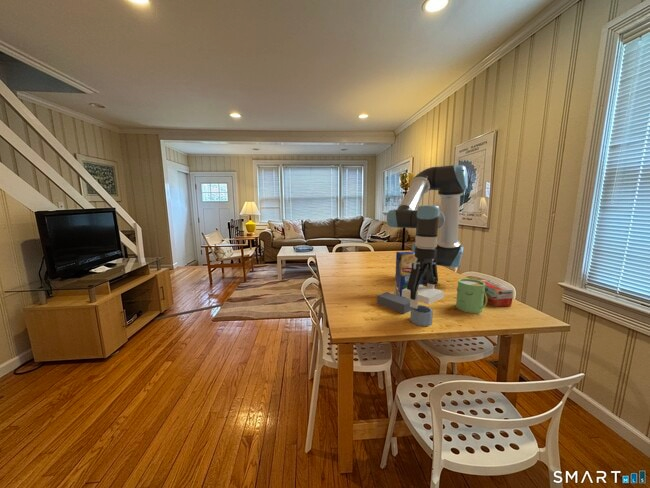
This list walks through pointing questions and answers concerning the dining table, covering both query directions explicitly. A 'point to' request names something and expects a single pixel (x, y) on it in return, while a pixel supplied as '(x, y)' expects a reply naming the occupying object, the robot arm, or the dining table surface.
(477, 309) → the mug
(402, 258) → the blue cereal box
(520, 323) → the dining table surface
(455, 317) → the dining table surface
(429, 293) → the tile
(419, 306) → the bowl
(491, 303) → the medicine box
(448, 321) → the dining table surface
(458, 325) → the dining table surface
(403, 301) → the blue-grey rectangular block
